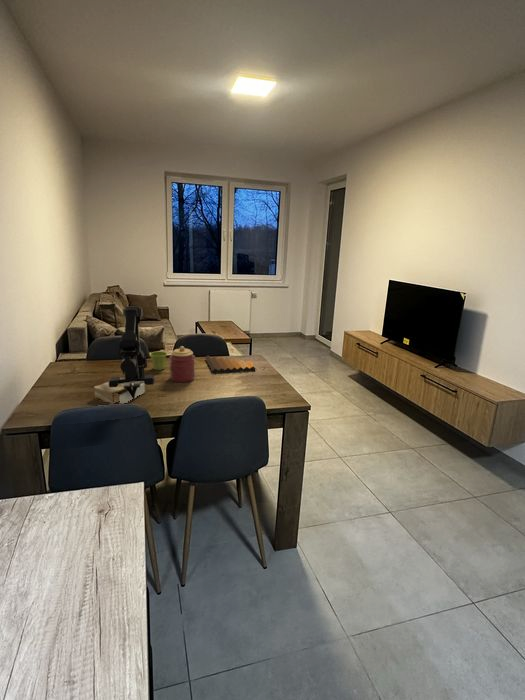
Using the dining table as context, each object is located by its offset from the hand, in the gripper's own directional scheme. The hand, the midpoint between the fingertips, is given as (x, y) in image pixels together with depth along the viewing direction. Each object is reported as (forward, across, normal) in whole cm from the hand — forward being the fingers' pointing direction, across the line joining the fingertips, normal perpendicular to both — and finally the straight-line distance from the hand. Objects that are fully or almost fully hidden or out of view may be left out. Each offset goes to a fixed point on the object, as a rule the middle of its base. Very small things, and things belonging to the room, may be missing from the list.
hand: (133, 398), depth 178 cm
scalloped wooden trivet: (+4, -50, -48) cm, 69 cm away
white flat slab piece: (+2, +1, -4) cm, 4 cm away
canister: (+2, -22, -29) cm, 37 cm away
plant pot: (+2, -10, -46) cm, 47 cm away
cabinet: (+2, +7, -10) cm, 12 cm away
